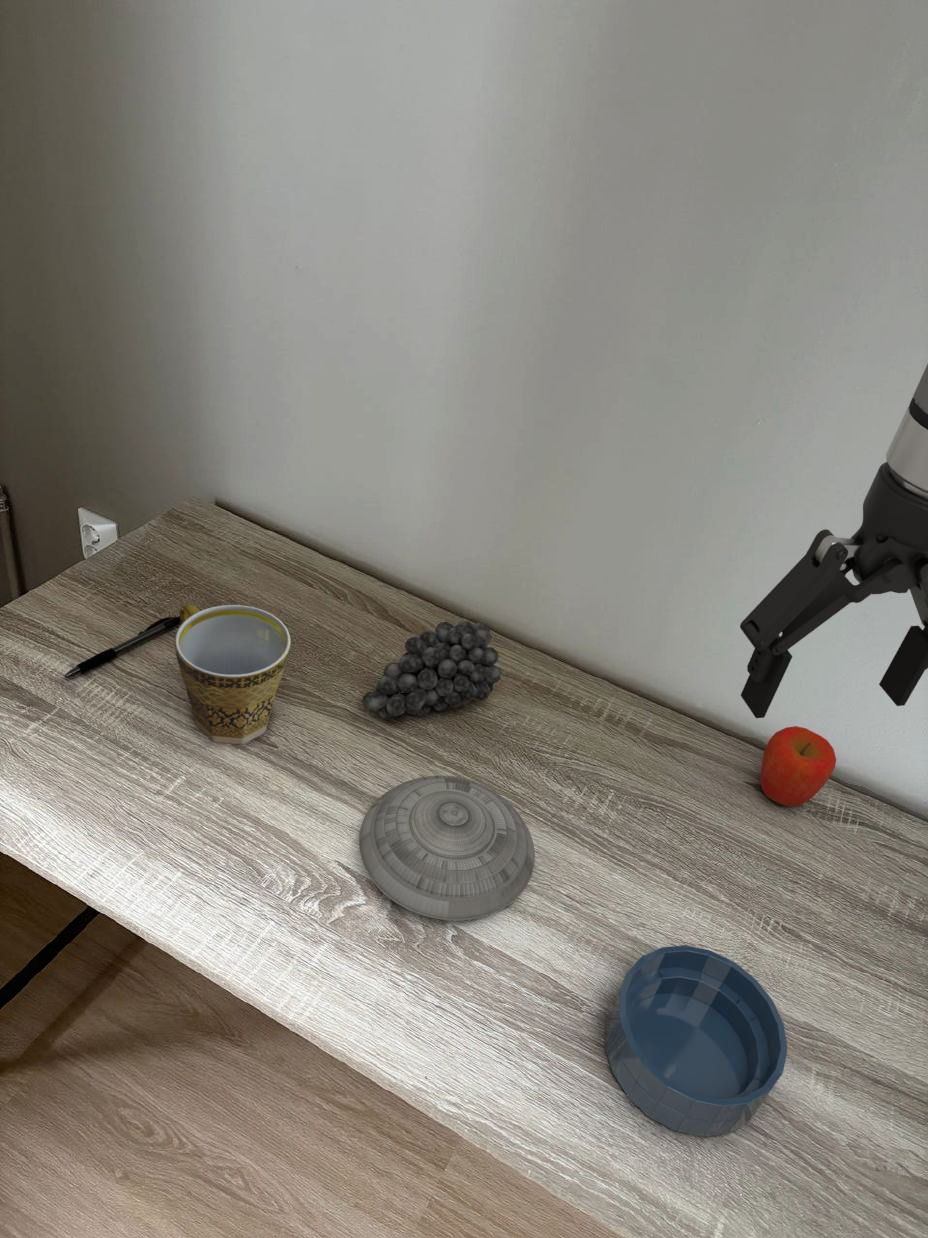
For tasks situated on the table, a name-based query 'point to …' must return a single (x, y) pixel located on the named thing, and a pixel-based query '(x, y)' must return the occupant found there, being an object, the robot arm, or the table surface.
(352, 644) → the table surface
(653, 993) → the bowl
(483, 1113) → the table surface
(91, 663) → the pen
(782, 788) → the apple
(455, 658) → the fruit
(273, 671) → the ceramic cup
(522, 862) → the flying saucer
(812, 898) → the table surface
